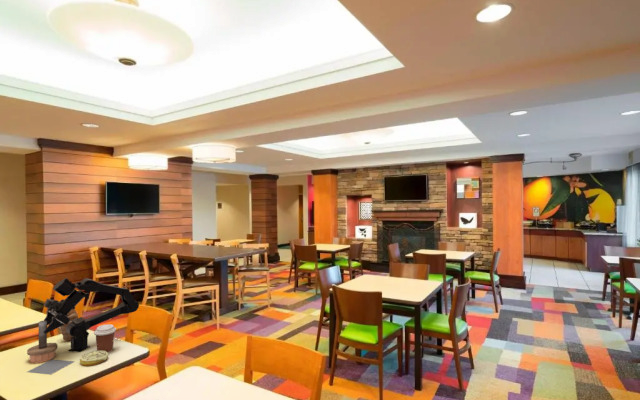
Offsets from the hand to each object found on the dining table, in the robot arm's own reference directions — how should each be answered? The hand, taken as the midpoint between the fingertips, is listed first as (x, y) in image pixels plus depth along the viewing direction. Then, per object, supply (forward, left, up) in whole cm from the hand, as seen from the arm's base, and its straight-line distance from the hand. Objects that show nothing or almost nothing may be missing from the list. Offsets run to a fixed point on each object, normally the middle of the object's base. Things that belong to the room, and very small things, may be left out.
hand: (42, 330), depth 162 cm
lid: (0, 0, -9) cm, 9 cm away
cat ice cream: (+6, -20, -13) cm, 25 cm away
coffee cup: (-22, -12, -13) cm, 29 cm away
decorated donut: (-25, -2, -14) cm, 29 cm away
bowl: (0, 0, -13) cm, 13 cm away
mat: (-11, +6, -13) cm, 18 cm away
